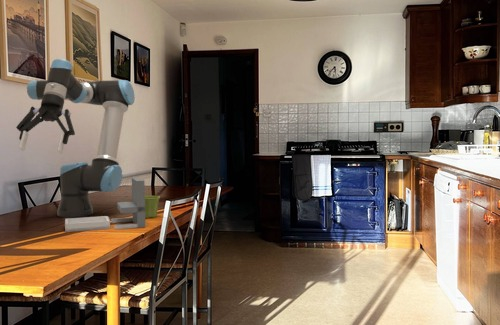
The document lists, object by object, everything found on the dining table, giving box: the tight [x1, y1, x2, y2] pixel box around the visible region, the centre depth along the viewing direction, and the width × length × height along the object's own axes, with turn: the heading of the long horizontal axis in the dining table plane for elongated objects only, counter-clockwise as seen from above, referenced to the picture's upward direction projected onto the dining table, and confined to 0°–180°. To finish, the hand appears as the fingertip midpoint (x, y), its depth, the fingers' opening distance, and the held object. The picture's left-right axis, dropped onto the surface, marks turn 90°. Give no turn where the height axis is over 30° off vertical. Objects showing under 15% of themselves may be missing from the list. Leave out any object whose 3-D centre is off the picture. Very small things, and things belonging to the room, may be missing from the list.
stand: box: [110, 176, 147, 230], centre depth 196 cm, size 16×12×18 cm
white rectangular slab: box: [64, 215, 111, 233], centre depth 192 cm, size 12×16×3 cm
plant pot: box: [145, 195, 161, 219], centre depth 214 cm, size 9×9×9 cm
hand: (40, 150), depth 175 cm, fingers open, 13 cm apart
